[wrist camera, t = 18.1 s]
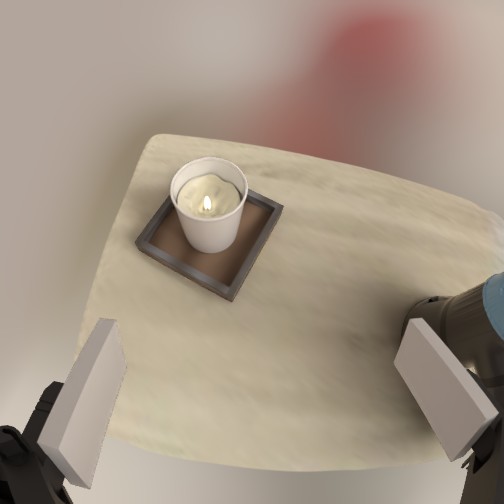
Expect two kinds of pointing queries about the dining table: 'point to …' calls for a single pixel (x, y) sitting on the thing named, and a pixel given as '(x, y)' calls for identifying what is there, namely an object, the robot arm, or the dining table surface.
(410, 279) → the dining table surface
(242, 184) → the candle holder
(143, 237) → the socket base
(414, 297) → the dining table surface
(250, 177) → the dining table surface
